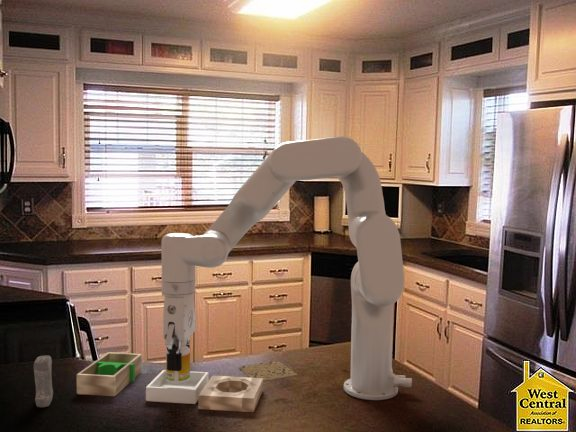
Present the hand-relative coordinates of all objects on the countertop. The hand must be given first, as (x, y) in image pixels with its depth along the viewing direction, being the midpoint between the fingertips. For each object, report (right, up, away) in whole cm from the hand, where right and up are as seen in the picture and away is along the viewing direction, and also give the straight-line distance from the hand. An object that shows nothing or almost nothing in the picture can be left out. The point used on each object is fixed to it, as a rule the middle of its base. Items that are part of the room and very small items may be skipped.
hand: (178, 365), depth 128 cm
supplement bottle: (0, -4, 0) cm, 4 cm away
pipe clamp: (-17, -6, +7) cm, 20 cm away
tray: (0, -6, 0) cm, 6 cm away
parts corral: (-18, -6, +7) cm, 20 cm away
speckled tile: (+20, -6, +15) cm, 26 cm away
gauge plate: (+13, -7, -3) cm, 15 cm away
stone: (-28, -7, -6) cm, 30 cm away
